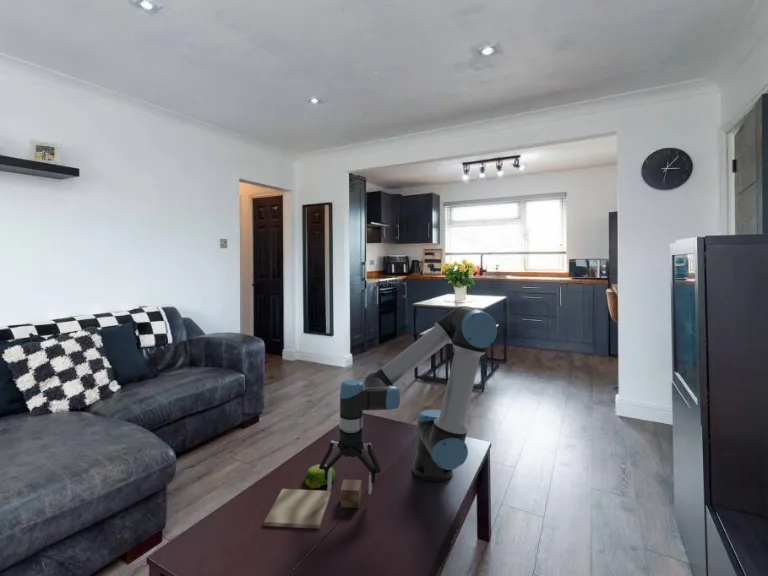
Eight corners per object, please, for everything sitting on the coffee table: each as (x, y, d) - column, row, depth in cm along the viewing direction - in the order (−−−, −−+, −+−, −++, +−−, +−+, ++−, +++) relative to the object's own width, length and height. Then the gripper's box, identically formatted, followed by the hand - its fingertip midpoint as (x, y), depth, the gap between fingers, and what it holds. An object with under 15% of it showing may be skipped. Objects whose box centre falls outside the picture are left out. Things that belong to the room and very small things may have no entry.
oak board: (331, 494, 133) (331, 491, 133) (319, 528, 116) (319, 524, 116) (282, 492, 134) (282, 488, 134) (263, 525, 117) (263, 521, 117)
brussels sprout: (329, 491, 135) (329, 477, 135) (300, 487, 137) (300, 474, 137) (339, 473, 147) (339, 460, 146) (312, 470, 149) (312, 457, 148)
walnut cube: (361, 497, 132) (361, 480, 131) (358, 508, 126) (359, 490, 125) (343, 496, 132) (343, 479, 132) (340, 507, 126) (340, 489, 126)
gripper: (389, 425, 130) (387, 486, 132) (316, 421, 132) (315, 481, 133) (388, 435, 123) (386, 499, 124) (310, 430, 124) (309, 494, 126)
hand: (349, 490), depth 129 cm, fingers open, 13 cm apart
